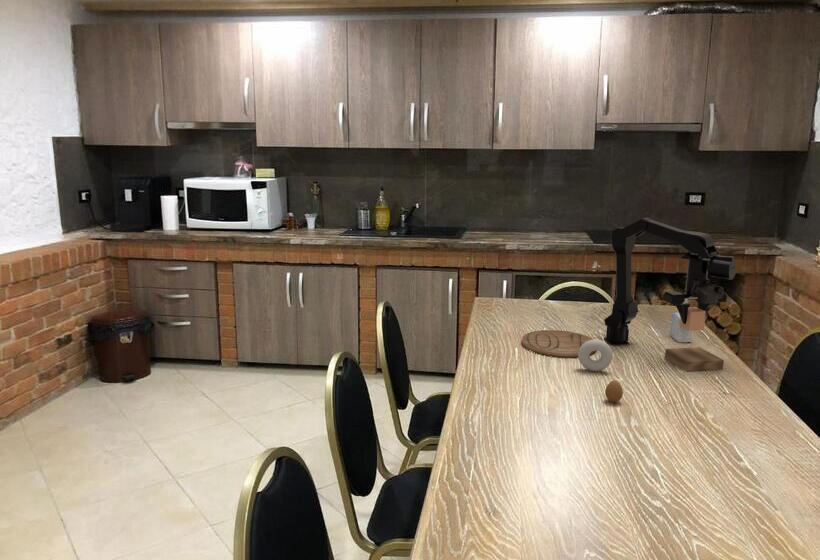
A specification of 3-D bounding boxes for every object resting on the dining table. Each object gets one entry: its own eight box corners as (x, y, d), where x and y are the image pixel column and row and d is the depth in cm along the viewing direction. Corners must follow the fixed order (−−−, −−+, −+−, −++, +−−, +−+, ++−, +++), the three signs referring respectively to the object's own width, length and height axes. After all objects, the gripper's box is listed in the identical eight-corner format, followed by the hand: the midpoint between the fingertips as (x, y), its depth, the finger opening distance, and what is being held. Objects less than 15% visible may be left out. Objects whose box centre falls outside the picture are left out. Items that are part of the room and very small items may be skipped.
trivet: (590, 336, 225) (590, 331, 225) (604, 361, 201) (604, 355, 200) (519, 333, 227) (519, 328, 227) (524, 357, 203) (524, 351, 203)
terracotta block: (689, 330, 196) (691, 312, 194) (679, 326, 201) (681, 307, 199) (703, 330, 197) (705, 311, 195) (694, 325, 201) (695, 307, 200)
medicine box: (690, 343, 219) (693, 318, 217) (677, 342, 219) (680, 318, 217) (681, 335, 226) (684, 312, 224) (669, 335, 226) (671, 312, 224)
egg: (600, 399, 170) (602, 378, 169) (614, 397, 172) (616, 376, 171) (611, 406, 166) (613, 384, 165) (625, 403, 168) (627, 382, 167)
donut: (577, 371, 191) (579, 339, 188) (576, 367, 194) (579, 336, 192) (611, 374, 188) (614, 342, 186) (610, 370, 192) (613, 339, 190)
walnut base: (686, 371, 192) (687, 361, 191) (664, 357, 204) (665, 348, 203) (722, 369, 194) (723, 360, 193) (698, 356, 205) (699, 347, 205)
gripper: (685, 281, 186) (679, 332, 189) (742, 279, 189) (736, 329, 192) (663, 273, 196) (659, 322, 200) (718, 271, 199) (712, 319, 203)
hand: (692, 323), depth 198 cm, fingers closed on terracotta block, 5 cm apart
